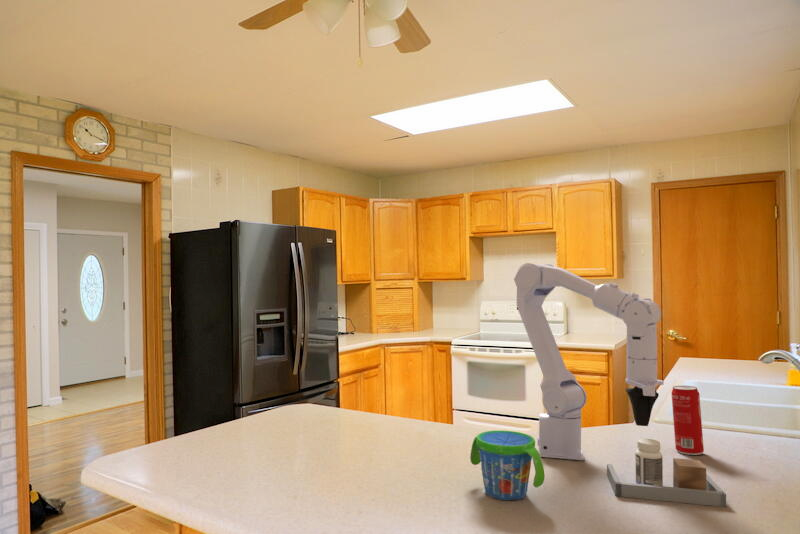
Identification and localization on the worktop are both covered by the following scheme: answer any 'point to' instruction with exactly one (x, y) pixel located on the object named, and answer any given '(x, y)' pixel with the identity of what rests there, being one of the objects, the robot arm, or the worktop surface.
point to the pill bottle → (649, 463)
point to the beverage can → (687, 420)
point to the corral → (668, 491)
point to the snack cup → (507, 463)
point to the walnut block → (689, 474)
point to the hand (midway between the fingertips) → (641, 425)
